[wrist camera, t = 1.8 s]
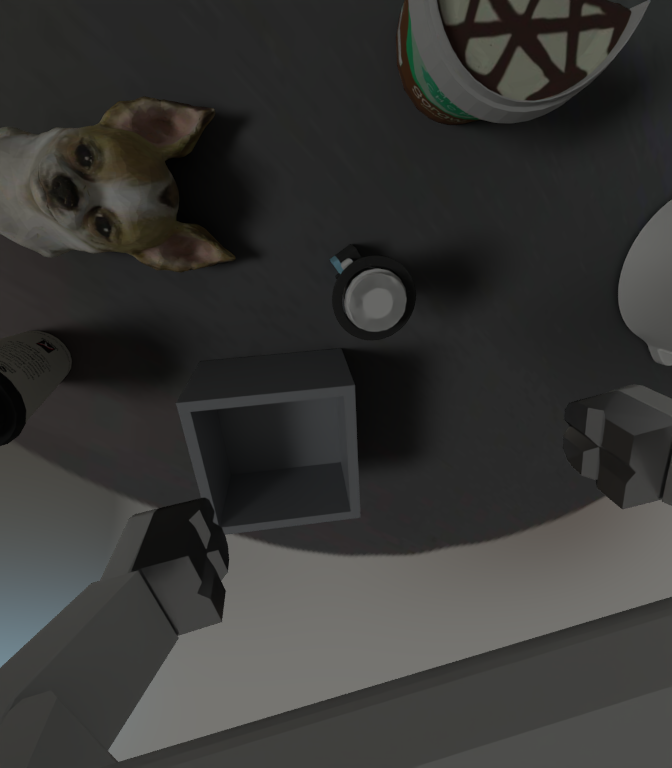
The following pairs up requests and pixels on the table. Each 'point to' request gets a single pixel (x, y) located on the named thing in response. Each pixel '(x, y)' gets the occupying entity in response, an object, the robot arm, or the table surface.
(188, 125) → the ceramic sculpture
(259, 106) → the table surface
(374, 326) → the push button
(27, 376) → the coffee cup
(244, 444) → the bin
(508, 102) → the food container
